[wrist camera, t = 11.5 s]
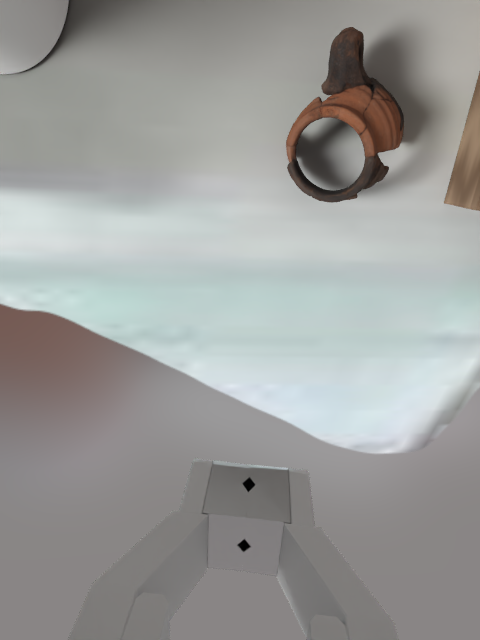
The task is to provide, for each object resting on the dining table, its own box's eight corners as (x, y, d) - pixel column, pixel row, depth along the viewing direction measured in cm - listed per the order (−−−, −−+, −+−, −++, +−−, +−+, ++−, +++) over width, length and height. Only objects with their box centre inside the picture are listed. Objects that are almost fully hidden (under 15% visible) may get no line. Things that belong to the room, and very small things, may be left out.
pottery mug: (410, 171, 34) (391, 209, 29) (313, 180, 39) (282, 214, 34) (413, 6, 27) (389, 17, 22) (294, 42, 32) (251, 58, 27)
